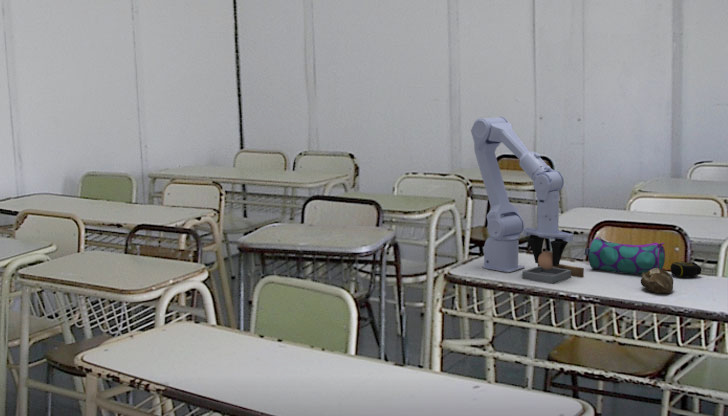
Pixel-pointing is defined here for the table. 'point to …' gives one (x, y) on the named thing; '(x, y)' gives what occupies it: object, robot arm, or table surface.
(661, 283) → the brown rock
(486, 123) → the robot arm
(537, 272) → the tray
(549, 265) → the ball
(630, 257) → the pencil case
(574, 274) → the walnut rail
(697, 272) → the tape measure
